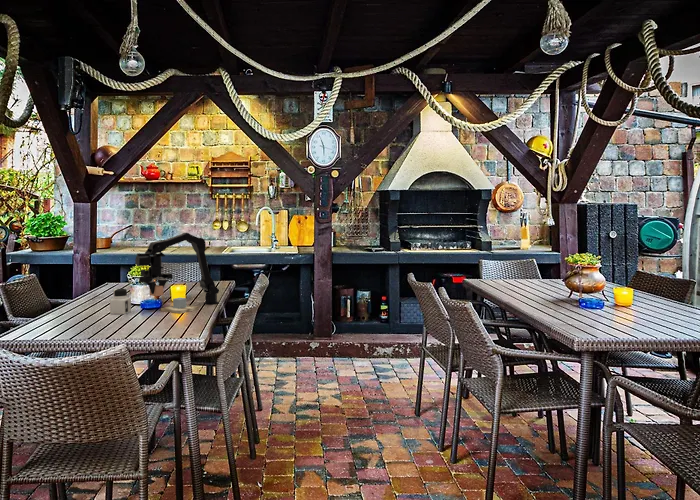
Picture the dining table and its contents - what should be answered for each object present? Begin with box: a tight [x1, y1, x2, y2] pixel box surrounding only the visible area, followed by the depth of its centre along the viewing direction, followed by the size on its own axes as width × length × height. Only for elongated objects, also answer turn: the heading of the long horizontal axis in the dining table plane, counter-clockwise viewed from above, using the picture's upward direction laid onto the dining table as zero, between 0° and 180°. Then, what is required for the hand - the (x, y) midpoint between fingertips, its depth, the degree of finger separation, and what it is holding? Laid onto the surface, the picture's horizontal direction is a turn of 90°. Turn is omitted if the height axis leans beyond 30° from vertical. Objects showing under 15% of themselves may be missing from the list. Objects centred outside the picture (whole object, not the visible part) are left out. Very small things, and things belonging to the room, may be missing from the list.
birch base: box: [160, 305, 200, 315], centre depth 301 cm, size 14×14×2 cm
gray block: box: [172, 297, 188, 309], centre depth 300 cm, size 5×5×5 cm
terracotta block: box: [149, 284, 164, 297], centre depth 300 cm, size 5×5×5 cm
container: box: [109, 288, 132, 315], centre depth 292 cm, size 8×8×13 cm
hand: (156, 293), depth 300 cm, fingers closed on terracotta block, 5 cm apart
